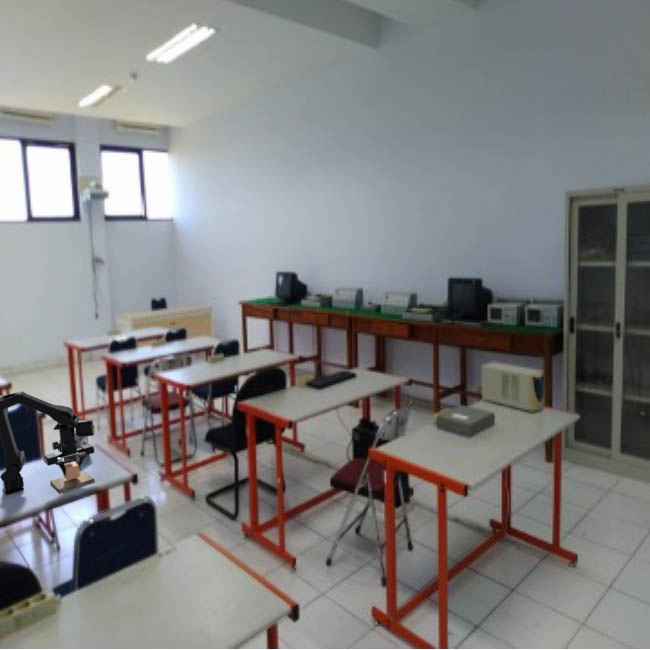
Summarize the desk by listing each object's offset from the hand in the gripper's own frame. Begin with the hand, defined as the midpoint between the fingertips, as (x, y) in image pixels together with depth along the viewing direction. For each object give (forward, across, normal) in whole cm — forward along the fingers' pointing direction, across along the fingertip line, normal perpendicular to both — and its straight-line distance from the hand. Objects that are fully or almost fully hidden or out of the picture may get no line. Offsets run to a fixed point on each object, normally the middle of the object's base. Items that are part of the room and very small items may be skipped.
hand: (71, 473), depth 234 cm
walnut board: (+4, 0, 0) cm, 4 cm away
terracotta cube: (+1, 0, 0) cm, 1 cm away
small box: (+4, -10, -24) cm, 26 cm away
